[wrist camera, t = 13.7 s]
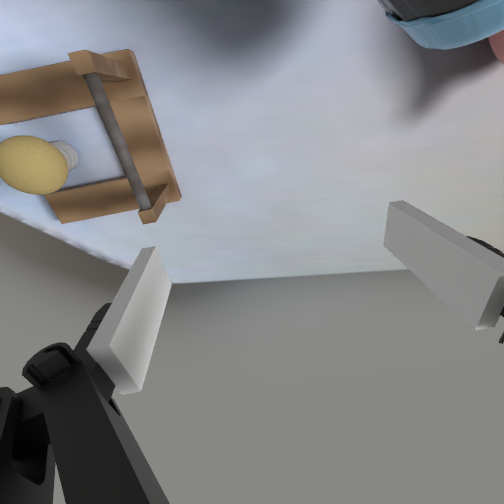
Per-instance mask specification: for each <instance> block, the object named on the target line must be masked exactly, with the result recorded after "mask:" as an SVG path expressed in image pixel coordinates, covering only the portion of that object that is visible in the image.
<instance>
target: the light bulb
mask: <svg viewBox="0 0 504 504" xmlns="http://www.w3.org/2000/svg"><path fill="white" fill-rule="evenodd" d="M78 163H79V157H78V154H77V152H76V150H75V149H74V148H73V147H72V146H71V145H69V144H68V143H66V142H63V141H54V142H50V143H49V142H47V141H45V140H43V139H40V138H37V137H33V136H15V137H11V138H8V139H6V140H4V141H3V142H1V143H0V177H1V178H2V179H3V181H4V182H6V183H7V184H8V185H9V186H11V187H13V188H15V189H17V190H19V191H22V192H25V193H29V194H35V195H44V194H49V193H53V192H55V191H57V190H58V189H60V188H61V187H62V186H63V185H64V184H65V182H66V180H67V177H68V171H70V170H71V169H74V168H75V167H76V166H77V165H78Z"/></svg>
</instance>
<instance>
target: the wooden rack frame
mask: <svg viewBox="0 0 504 504" xmlns="http://www.w3.org/2000/svg"><path fill="white" fill-rule="evenodd" d="M68 55H69V58H70V60H71V61H67V62H62V63H57V64H53V65H48V66H43V67H38V68H33V69H28V70H23V71H19V72H14V73H9V74H4V75H0V125H3V124H12V123H17V122H22V121H26V120H31V119H36V118H41V117H46V116H51V115H56V114H61V113H66V112H71V111H76V110H80V109H85V108H90V107H95V106H96V107H97V109H98V112H99V114H100V116H101V119H102V121H103V123H104V126H105V128H106V130H107V133H108V135H109V137H110V140H111V142H112V144H113V146H114V149H115V151H116V153H117V156H118V158H119V160H120V163H121V165H122V167H123V170H124V172H125V174H126V176H124V177H119V178H114V179H109V180H104V181H99V182H94V183H89V184H84V185H79V186H74V187H69V188H64V189H59V190H57V191H55V192H53V193H49V194H45V195H44V196H45V198H46V200H47V201H48V203H49V204H50V206H51V207H52V209H53V211H54V212H55V214H56V215H57V217H58V219H59V220H60V222H61V223H62V224H64V223H69V222H74V221H79V220H84V219H89V218H94V217H99V216H104V215H110V214H115V213H120V212H125V211H130V210H135V209H140V210H139V211H138V214H139V216H140V219H141V221H142V223H143V224H148V223H153V222H156V221H157V219H158V217H159V216H160V214H161V212H162V210H163V209H164V207H165V205H166V203H170V202H175V201H180V199H181V193H180V190H179V187H178V184H177V181H176V178H175V175H174V172H173V169H172V166H171V163H170V160H169V157H168V154H167V151H166V148H165V145H164V142H163V139H162V136H161V133H160V130H159V127H158V124H157V121H156V117H155V114H154V111H153V108H152V105H151V102H150V99H149V96H148V93H147V90H146V87H145V84H144V81H143V78H142V75H141V72H140V69H139V66H138V63H137V60H136V57H135V54H134V52H133V51H131V50H129V49H125V50H121V51H116V52H111V53H106V54H101V55H100V54H97V53H94V52H91V51H88V50H81V51H76V52H72V53H68Z"/></svg>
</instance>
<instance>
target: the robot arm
mask: <svg viewBox="0 0 504 504" xmlns="http://www.w3.org/2000/svg"><path fill="white" fill-rule="evenodd" d="M377 1H378V2H379V3H380V4H381V5H382V7H383V8H384V9H385V12H386V16H387V17H388V19H389V20H390V21H391V22H393V23H394V24H397V25H400V26H401V27H402V28H403V29H404V30H405V31H406V32H407V33H408V34H409V35H410V36H411V37H412V39H413V40H414V41H415V42H416V43H417V44H419V45H421V46H422V47H425V48H428V49H434V48H437V49H442V50H446V49H453V48H457V47H461V46H465V45H468V44H471V43H474V42H477V41H479V40H482V39H484V38H487V37H489V36H491V35H493V34H496V33H498V32H500V31H502V30H504V0H377ZM384 246H385V247H386V248H387V249H388V250H389V251H390V252H391V253H392V254H393V255H394V256H395V257H397V258H398V259H399V260H400V261H401V262H402V263H403V264H404V265H405V266H406V267H407V268H408V269H409V270H411V271H412V272H413V273H414V274H415V275H416V276H417V277H418V278H419V279H420V280H421V281H422V282H424V283H425V284H426V285H427V286H428V287H429V288H430V289H431V290H432V291H433V292H434V293H435V294H437V295H438V296H439V297H440V298H441V299H442V300H443V301H444V302H445V303H446V304H447V305H448V306H449V307H451V308H452V309H453V310H454V311H455V312H456V313H457V314H458V315H459V316H460V317H461V318H462V319H463V320H465V321H466V322H467V323H468V324H469V325H470V326H471V327H472V328H473V329H474V330H479V329H484V328H490V327H494V326H495V325H496V323H497V321H498V319H499V317H500V315H502V316H503V317H504V254H503V252H502V251H500V250H498V249H496V248H494V247H493V246H491V245H489V244H487V243H486V242H484V241H482V240H479V239H476V238H472V237H469V236H464V235H463V234H461V233H459V232H457V231H456V230H454V229H452V228H450V227H449V226H447V225H445V224H443V223H442V222H440V221H438V220H436V219H435V218H433V217H431V216H429V215H428V214H426V213H424V212H422V211H421V210H419V209H417V208H415V207H414V206H412V205H410V204H408V203H407V202H405V201H403V200H402V201H396V202H391V203H389V207H388V215H387V222H386V230H385V237H384ZM171 285H172V284H171V282H170V279H169V277H168V275H167V272H166V270H165V268H164V265H163V263H162V260H161V258H160V256H159V253H158V251H157V248H156V246H154V247H148V248H143V249H142V250H141V251H140V253H139V255H138V257H137V259H136V260H135V262H134V264H133V266H132V268H131V269H130V271H129V273H128V275H127V277H126V279H125V280H124V282H123V284H122V286H121V288H120V290H119V291H118V293H117V295H116V297H115V299H114V300H113V302H112V303H107V304H105V305H104V306H103V307H102V308H101V309H99V310H98V311H97V312H96V314H95V315H94V317H93V319H92V320H91V324H89V325H88V327H87V329H86V332H84V334H83V335H82V337H81V339H80V340H79V342H78V344H77V345H76V347H75V349H74V350H72V349H71V348H70V346H69V345H68V344H66V343H60V342H59V343H56V344H52V345H50V346H48V347H46V348H44V349H42V350H40V351H39V352H38V353H36V354H35V355H34V356H33V357H32V358H31V359H30V360H29V361H28V362H27V363H26V365H25V366H24V368H23V371H22V375H23V376H24V377H25V378H26V379H27V380H28V381H29V382H30V383H31V384H32V385H34V386H33V387H31V388H28V389H26V390H24V391H22V392H20V393H17V394H16V393H15V392H14V391H13V390H11V389H10V388H8V387H1V388H0V504H53V491H54V477H55V463H56V465H57V469H58V473H59V477H60V481H61V485H62V489H63V493H64V497H65V502H66V504H169V502H168V500H167V498H166V496H165V494H164V492H163V490H162V488H161V487H160V485H159V483H158V481H157V479H156V477H155V475H154V473H153V472H152V470H151V468H150V466H149V464H148V462H147V460H146V459H145V457H144V455H143V453H142V451H141V449H140V447H139V445H138V444H137V442H136V440H135V438H134V436H133V434H132V432H131V431H130V429H129V427H128V425H127V423H126V421H125V419H124V417H123V416H122V414H121V412H120V410H119V408H118V406H117V404H116V402H115V401H114V399H113V398H112V397H111V396H112V393H113V391H114V388H115V387H116V388H117V389H118V390H119V392H120V393H121V395H123V394H129V393H134V392H140V391H141V390H142V386H143V383H144V379H145V376H146V372H147V369H148V365H149V361H150V358H151V354H152V351H153V348H154V344H155V341H156V337H157V334H158V330H159V327H160V323H161V320H162V316H163V313H164V309H165V305H166V302H167V299H168V295H169V292H170V288H171ZM503 342H504V332H503V334H502V336H501V338H500V340H499V343H502V344H503Z"/></svg>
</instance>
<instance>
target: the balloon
mask: <svg viewBox="0 0 504 504" xmlns="http://www.w3.org/2000/svg"><path fill="white" fill-rule="evenodd" d="M488 38H489V42H490V46H491V48H492V50H493V52H494V54H495V55H496V57H497V58H498V59H499V60H500V61H501V62H502V63H503V64H504V30H502V31H500V32H498V33H496V34H493V35H491V36H489V37H488Z"/></svg>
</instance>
